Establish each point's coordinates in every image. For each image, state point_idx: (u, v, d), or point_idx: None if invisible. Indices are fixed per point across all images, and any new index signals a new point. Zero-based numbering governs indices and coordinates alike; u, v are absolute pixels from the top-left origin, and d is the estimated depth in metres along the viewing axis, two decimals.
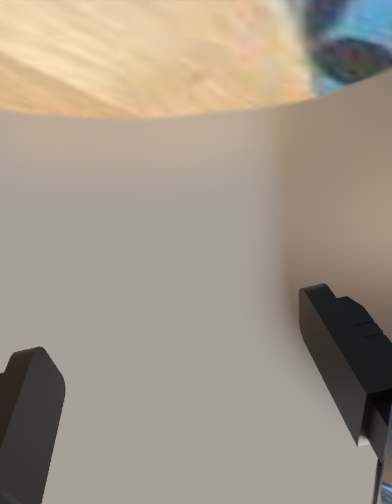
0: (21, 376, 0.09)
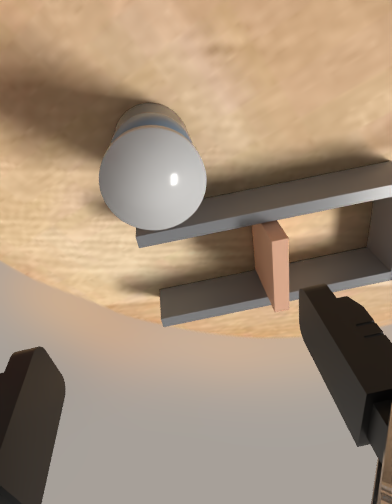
0: (21, 376, 0.09)
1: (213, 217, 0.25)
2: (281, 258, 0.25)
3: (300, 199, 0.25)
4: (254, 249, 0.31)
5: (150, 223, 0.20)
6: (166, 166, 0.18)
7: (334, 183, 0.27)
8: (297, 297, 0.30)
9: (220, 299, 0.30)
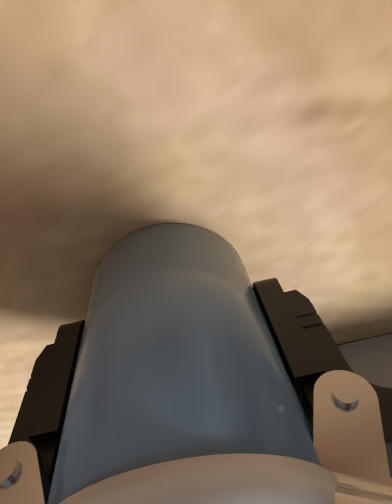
0: (71, 345, 0.10)
1: None
2: None
3: None
4: None
5: None
6: None
7: None
8: None
9: None
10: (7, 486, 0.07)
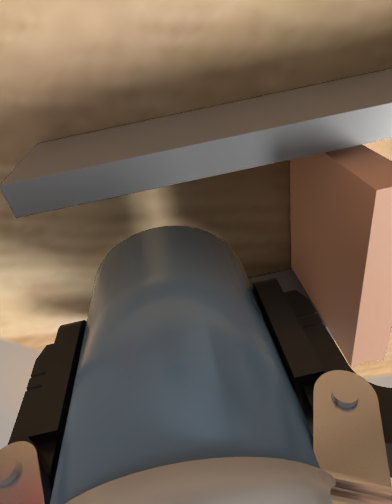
0: (71, 345, 0.10)
1: (207, 135, 0.10)
2: None
3: None
4: (293, 228, 0.15)
5: None
6: None
7: None
8: None
9: None
10: (7, 486, 0.07)
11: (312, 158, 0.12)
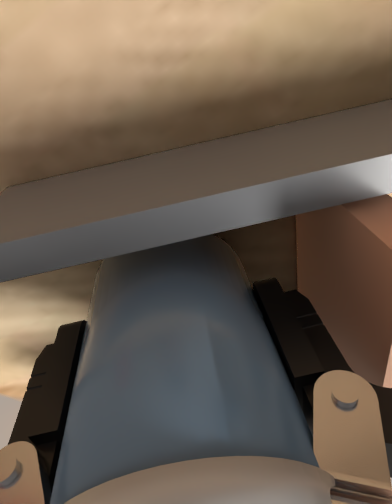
0: (71, 345, 0.10)
1: (197, 188, 0.08)
2: None
3: None
4: (300, 269, 0.14)
5: None
6: None
7: None
8: None
9: None
10: (7, 486, 0.07)
11: None
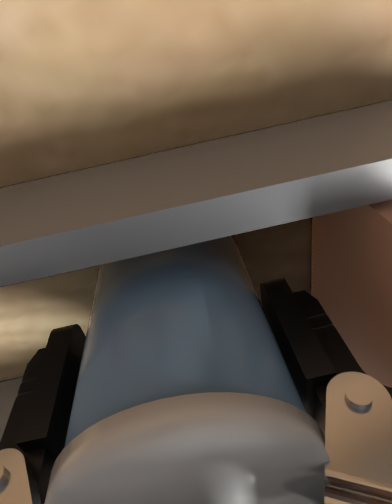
0: (63, 350, 0.09)
1: None
2: None
3: (179, 194, 0.08)
4: (315, 271, 0.13)
5: None
6: (236, 492, 0.06)
7: (296, 144, 0.09)
8: None
9: None
10: None
11: None
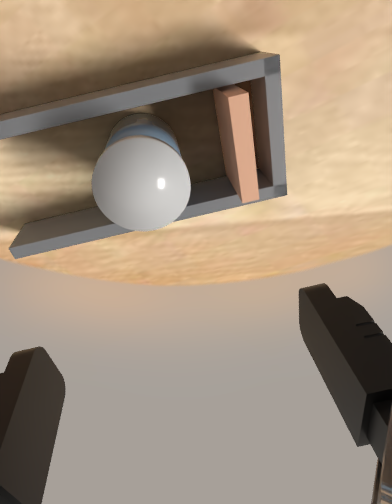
0: (21, 376, 0.09)
1: (34, 112, 0.21)
2: (242, 123, 0.21)
3: (137, 87, 0.21)
4: None
5: (141, 224, 0.21)
6: (152, 172, 0.20)
7: (185, 73, 0.23)
8: None
9: (80, 226, 0.26)
10: None
11: (218, 96, 0.23)
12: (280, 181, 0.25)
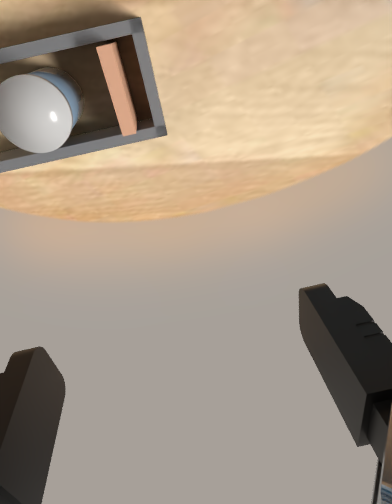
0: (21, 376, 0.09)
1: None
2: (110, 68, 0.27)
3: (33, 41, 0.28)
4: None
5: (37, 147, 0.28)
6: (38, 102, 0.26)
7: None
8: (71, 154, 0.33)
9: (2, 158, 0.33)
10: None
11: None
12: (159, 123, 0.32)
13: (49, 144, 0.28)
